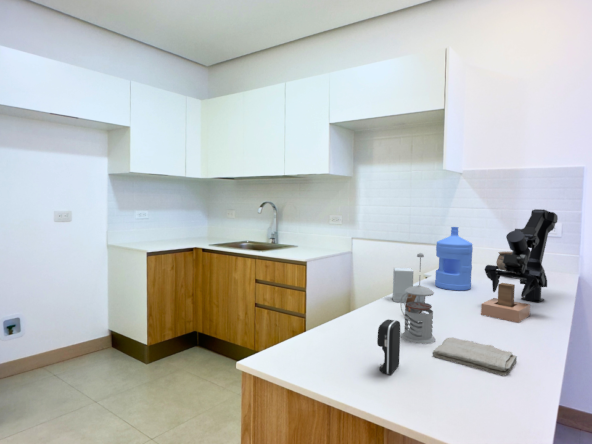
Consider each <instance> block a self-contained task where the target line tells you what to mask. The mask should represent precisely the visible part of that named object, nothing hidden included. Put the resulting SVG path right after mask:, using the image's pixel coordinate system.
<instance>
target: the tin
mask: <svg viewBox="0 0 592 444" xmlns="http://www.w3.org/2000/svg"><path fill="white" fill-rule="evenodd" d="M408 297H411V294H409V295H408ZM408 297H407V300H406V303H405V305H406V304H407V303H408V302H419V296H416V295H412V297H411V298H408ZM420 302H421V303H423V302H424V303H426V296H420ZM407 307H408V306H407V305H406V308H407ZM408 312H410V308H408ZM420 313H423V311H420V312H418V314H420Z"/></svg>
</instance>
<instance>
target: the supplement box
mask: <svg viewBox="0 0 592 444" xmlns="http://www.w3.org/2000/svg"><path fill="white" fill-rule="evenodd" d="M392 275H393V278H392V279H393V280H392V281H393V282H392V300H393V303H394V302H395V303H404V304H406V303H405V298H406V300H407V297H406V296H407V294H408V293H407V292H406V291H405V290H406V289H407V288H409V287H412V286H414V270H413V269H412V268H410V267H407V268H406V267H393V274H392ZM406 293H407V294H406ZM404 294H405V295H404ZM403 295H404V296H403ZM408 295H409V294H408ZM402 296H403V298H402ZM401 298H402V300H401Z"/></svg>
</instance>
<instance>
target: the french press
mask: <svg viewBox="0 0 592 444" xmlns="http://www.w3.org/2000/svg"><path fill="white" fill-rule="evenodd" d="M424 255H425V254H424V253H422V252H418V253H417V255H416V257H417V258H419V271H421V268H422V267H421V266H422V263H421V262H422V258H424V257H425V256H424ZM418 280H419V282H418V284H419V285H413V286H412V287H409V288H407V289H406V290H405V291H406V292H407V293H408V294H411V297H412V295H416V296H419V302H408V303H407V304H406V298H405V303H404V311H403V307H402V305H400V310H401V313H402V314H403V316H404V332H403V333H401V334H400V338H401V339H402V340H404V341H405V342H409V343H414V344H419V345H420V344H421V345H427V344H433V343H435V342H436V338H435V336H434V335H433V328H434V327H433V323H434V322H433V318H434V311H433V310H432V307H433V306H432V304H431V303H428V302H425V303H424V302H423V303H421V302H420V296H425V297H431V296H433V295H434V294H435V292H434V290H432V289H430V288H429V287H427V286H423V285H421V276H419V279H418ZM407 293H406V294H407ZM408 294H407V296H406V297H408ZM404 295H405V294H404ZM404 295H403V296H404ZM403 296H402V298H403ZM411 297H408V298H411ZM402 298H401V300H402ZM406 305H407V306H408V307H407V308H406ZM408 308H410V312H408ZM420 311H422V312H420ZM418 312H420V313H419V314H418ZM425 312H426V313H425Z"/></svg>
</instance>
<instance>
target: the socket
mask: <svg viewBox="0 0 592 444" xmlns="http://www.w3.org/2000/svg"><path fill="white" fill-rule="evenodd" d="M480 308H481V309H480V312H481V313H480V315H481V316H484V315H486V317H489V316H490V318H493V319H498V318H499V319H500V320H503V321H507V322H513V323H518V324H519V323H521V322H522V321H524V320H525V319H526V318H528V317H530V315H531V304H529V303H524V302H518V301H514V307H508V306H502V305H498V297H493V298H491V299H489V300H487V301H484V302H482V303H481V306H480Z"/></svg>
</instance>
